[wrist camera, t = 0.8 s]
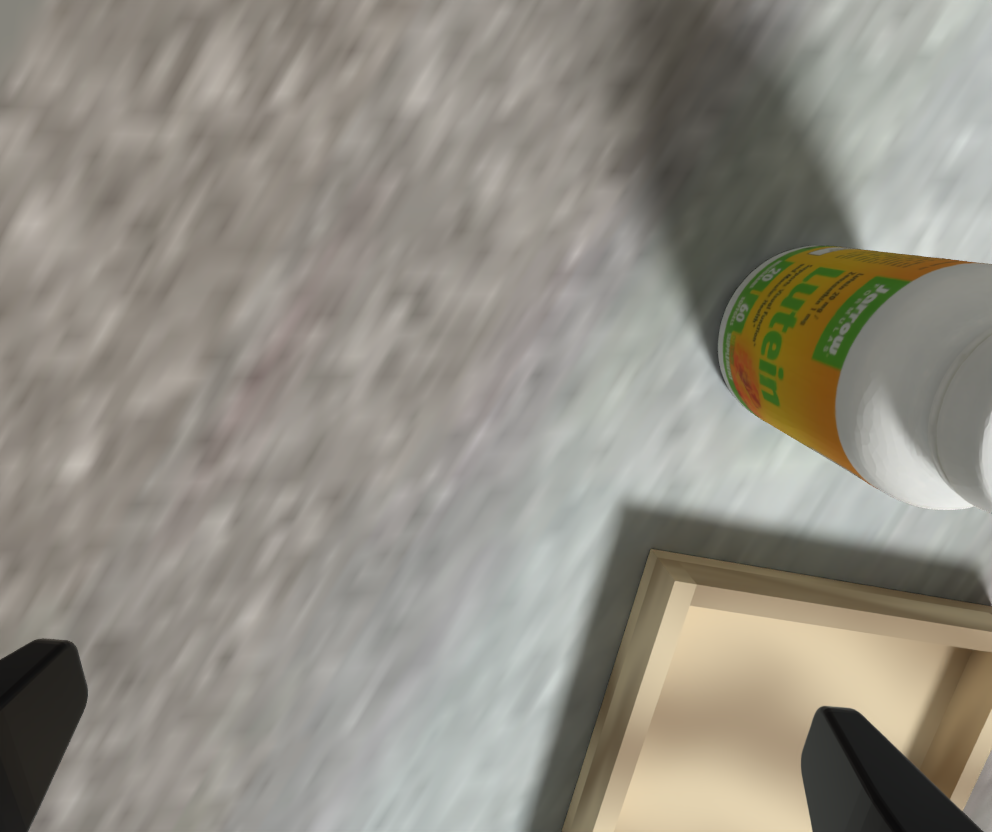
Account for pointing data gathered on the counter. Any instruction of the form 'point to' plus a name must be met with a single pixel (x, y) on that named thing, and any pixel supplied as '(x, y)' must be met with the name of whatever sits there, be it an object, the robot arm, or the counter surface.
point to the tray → (774, 694)
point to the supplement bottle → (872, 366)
